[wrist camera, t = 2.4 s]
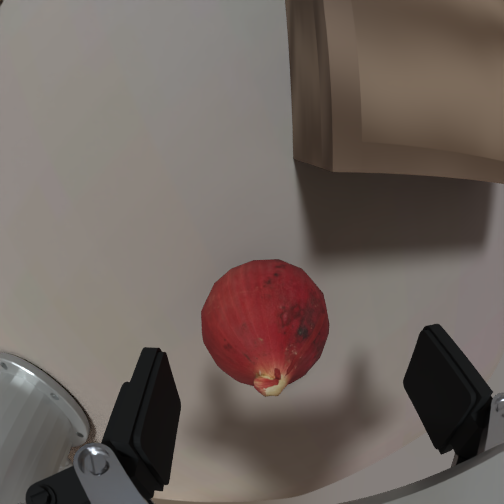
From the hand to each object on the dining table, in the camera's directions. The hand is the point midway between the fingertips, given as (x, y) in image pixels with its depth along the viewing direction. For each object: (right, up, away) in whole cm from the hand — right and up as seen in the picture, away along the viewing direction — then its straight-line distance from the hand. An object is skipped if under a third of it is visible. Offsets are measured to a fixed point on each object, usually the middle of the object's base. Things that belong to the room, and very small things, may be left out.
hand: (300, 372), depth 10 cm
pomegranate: (-1, +2, +7) cm, 8 cm away
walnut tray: (+7, +16, +3) cm, 18 cm away
